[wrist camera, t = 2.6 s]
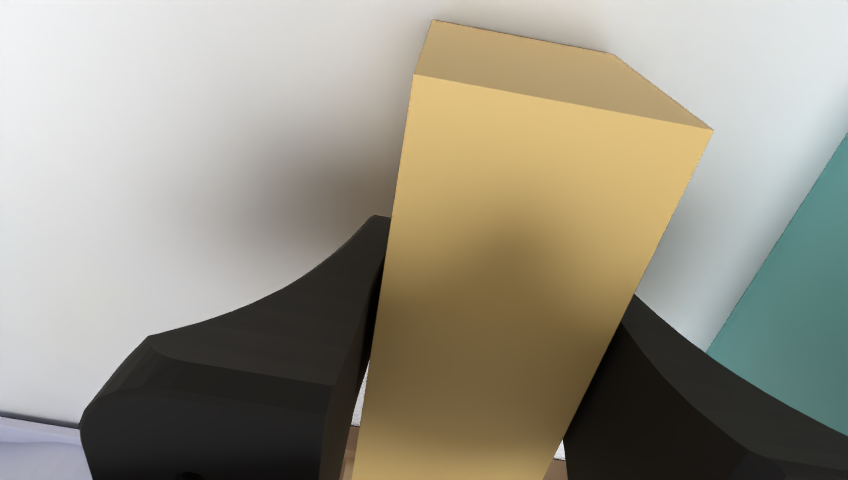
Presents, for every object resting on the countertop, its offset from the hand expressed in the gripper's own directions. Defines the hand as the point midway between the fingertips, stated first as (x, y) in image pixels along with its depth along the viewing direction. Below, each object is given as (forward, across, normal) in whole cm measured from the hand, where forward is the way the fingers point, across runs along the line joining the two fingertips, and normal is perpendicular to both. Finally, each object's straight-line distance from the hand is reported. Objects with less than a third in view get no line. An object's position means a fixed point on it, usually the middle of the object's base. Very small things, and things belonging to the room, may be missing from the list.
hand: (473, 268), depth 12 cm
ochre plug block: (+1, 0, 0) cm, 1 cm away
